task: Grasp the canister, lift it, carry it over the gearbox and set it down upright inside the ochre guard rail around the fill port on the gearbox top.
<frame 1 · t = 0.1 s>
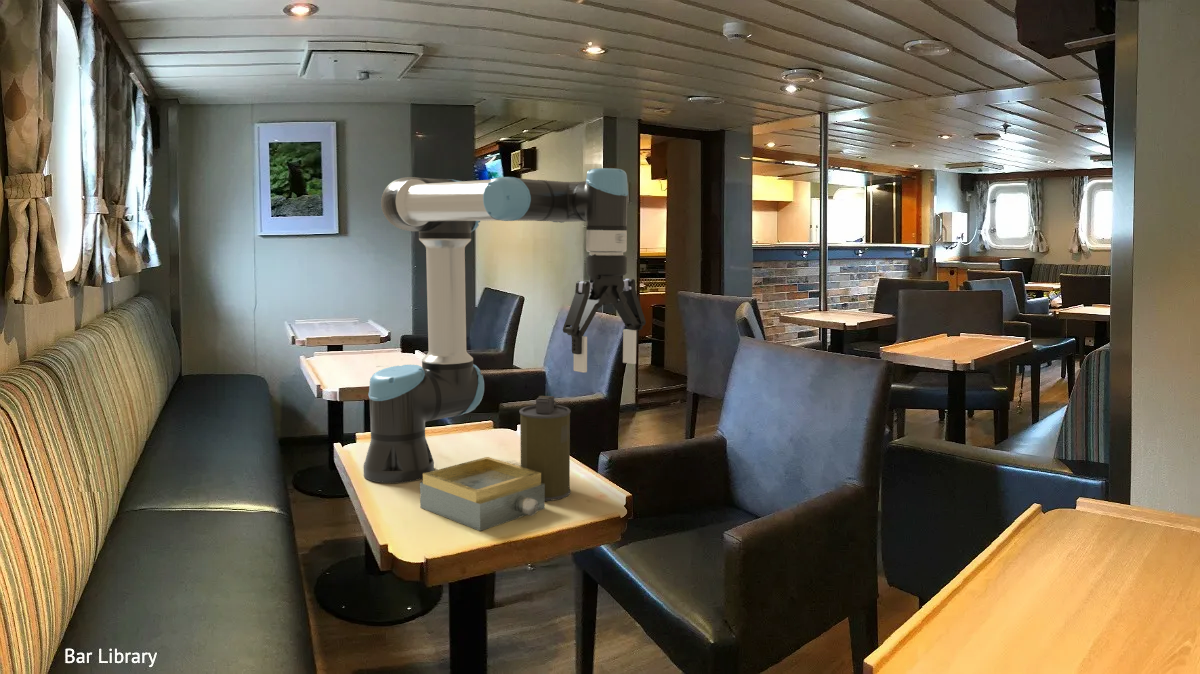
hand: (605, 367, 149), 28 cm above the table, fingers open, 13 cm apart
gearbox: (482, 508, 154), on the table
canister: (545, 493, 163), on the table
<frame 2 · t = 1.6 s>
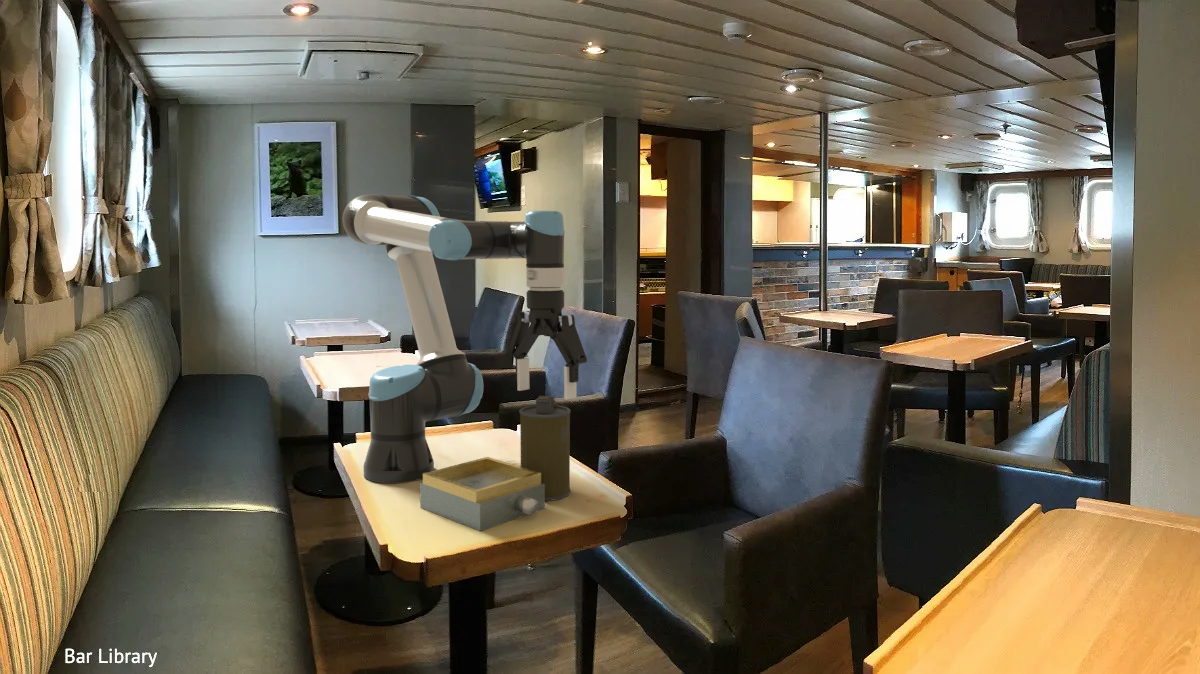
hand: (546, 394, 161), 21 cm above the table, fingers open, 13 cm apart
nothing on the table moved.
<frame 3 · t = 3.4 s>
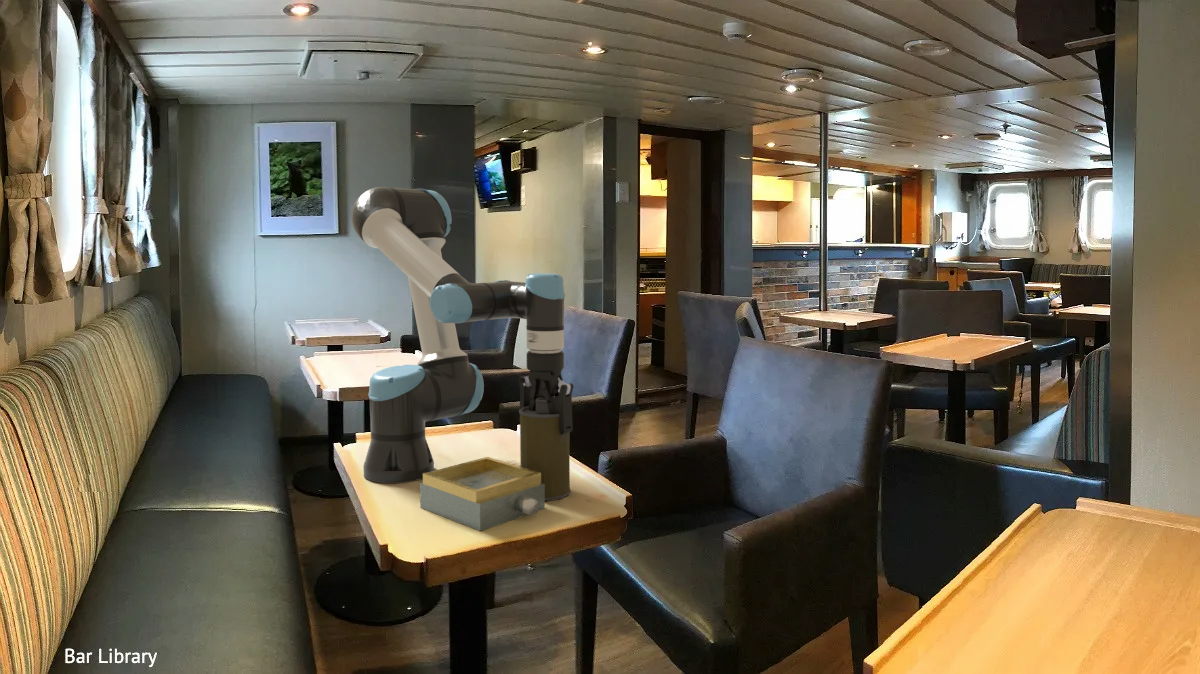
hand: (545, 462, 163), 6 cm above the table, fingers open, 6 cm apart
canister: (545, 493, 163), on the table, touching hand
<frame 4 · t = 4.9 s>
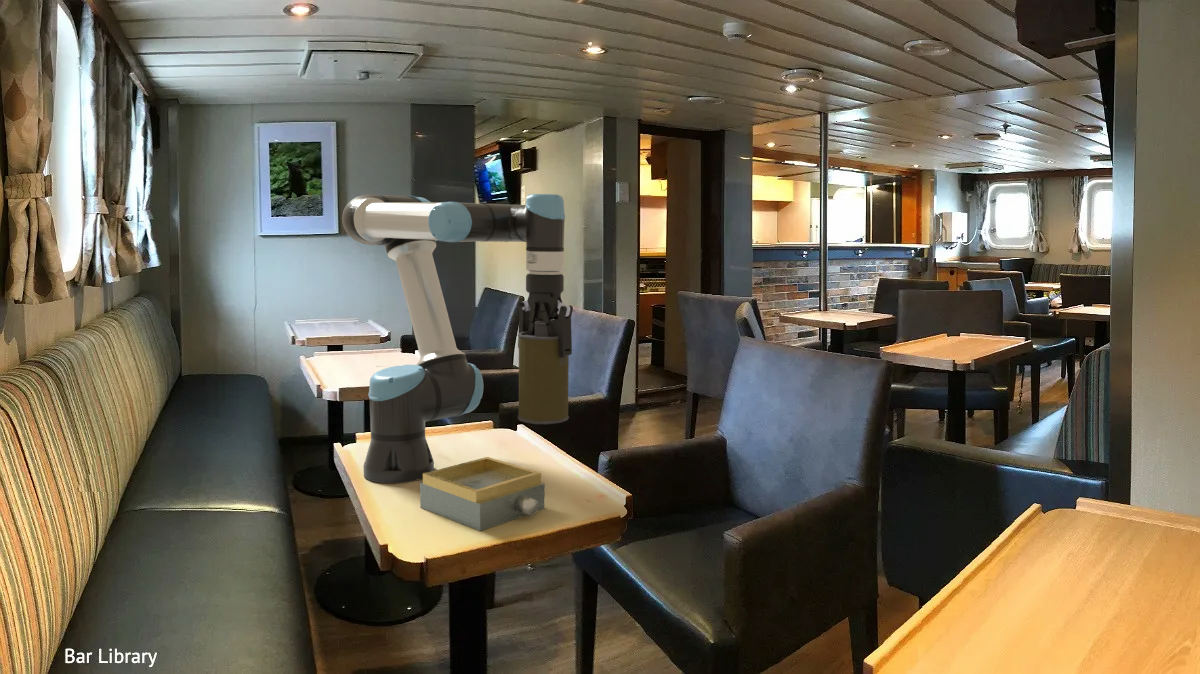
hand: (544, 387, 161), 22 cm above the table, fingers open, 6 cm apart
canister: (543, 418, 162), point 15 cm above the table, touching hand
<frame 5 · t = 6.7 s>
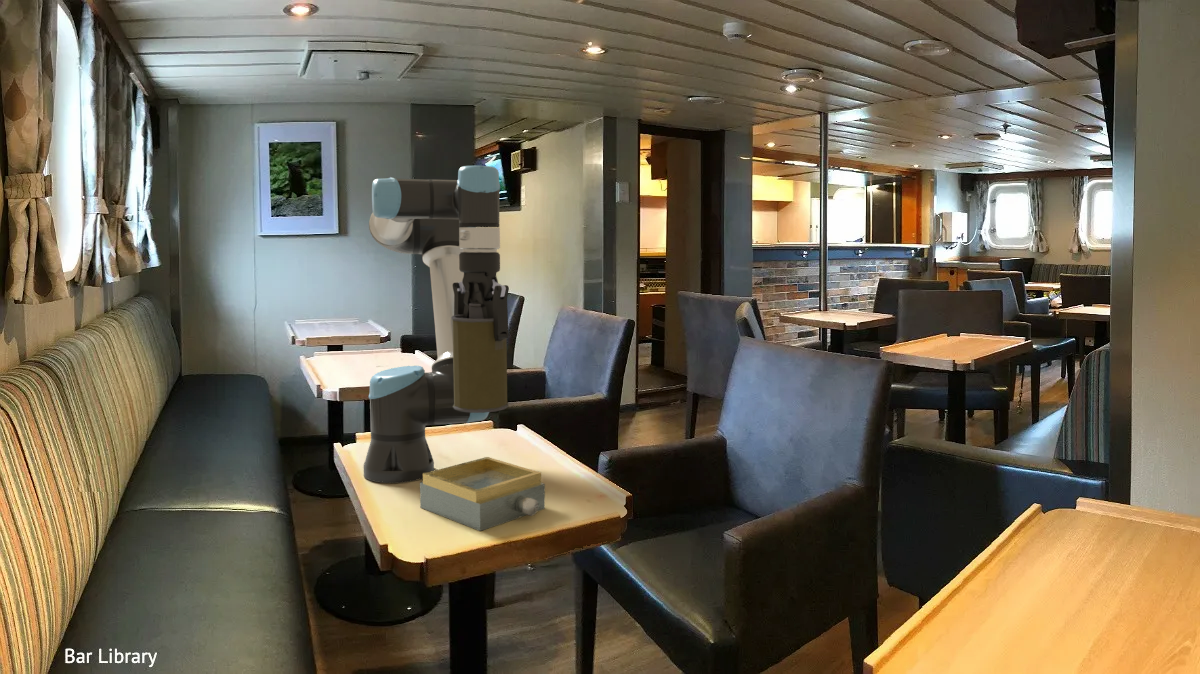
hand: (481, 373, 150), 26 cm above the table, fingers open, 6 cm apart
canister: (481, 407, 151), point 20 cm above the table, touching hand
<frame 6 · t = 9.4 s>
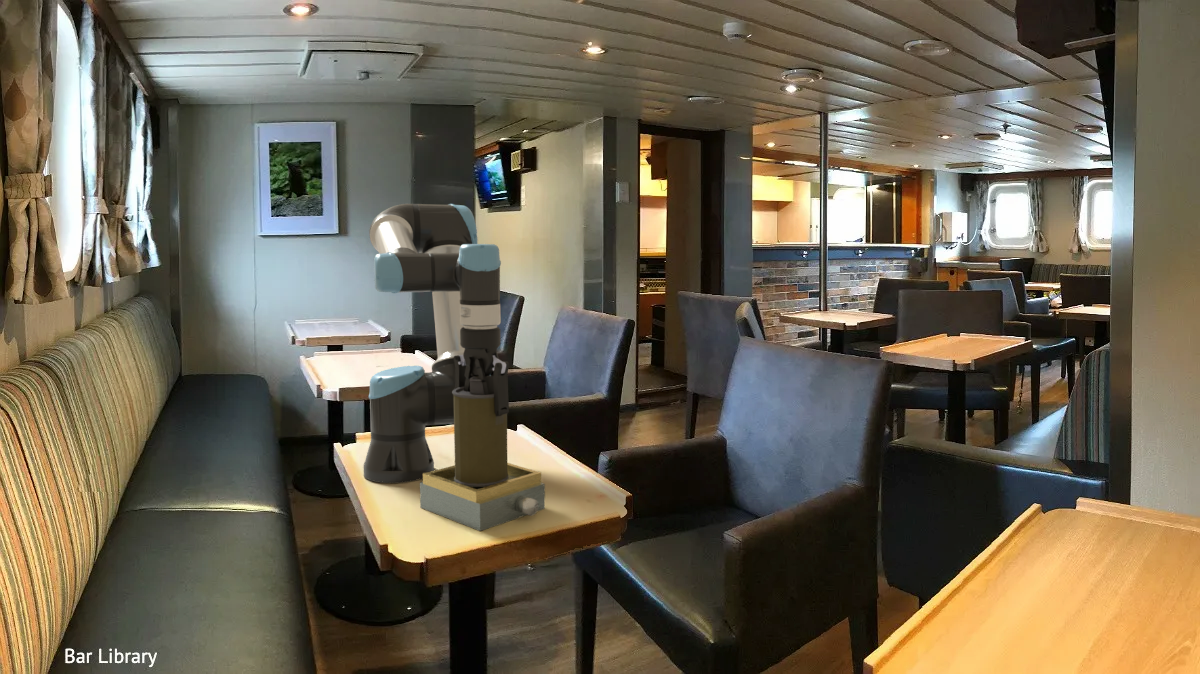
hand: (481, 446, 152), 12 cm above the table, fingers open, 6 cm apart
canister: (481, 479, 153), point 6 cm above the table, touching hand
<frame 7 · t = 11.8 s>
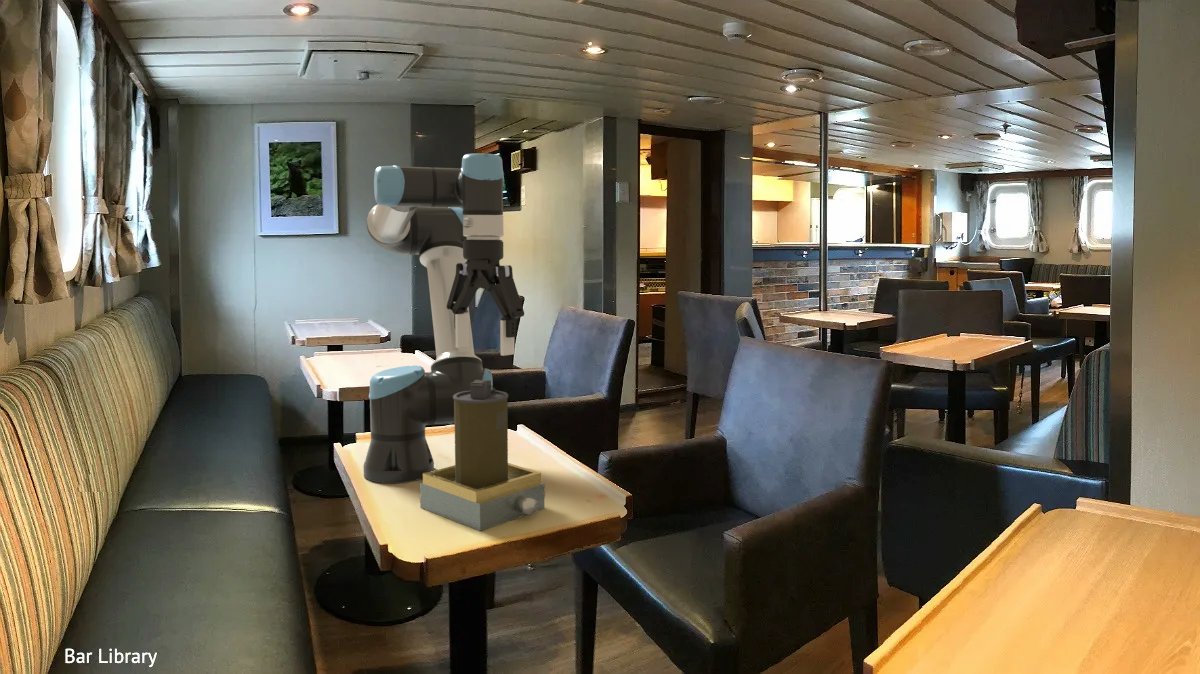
hand: (484, 350, 151), 31 cm above the table, fingers open, 13 cm apart
canister: (482, 484, 153), point 5 cm above the table, touching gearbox
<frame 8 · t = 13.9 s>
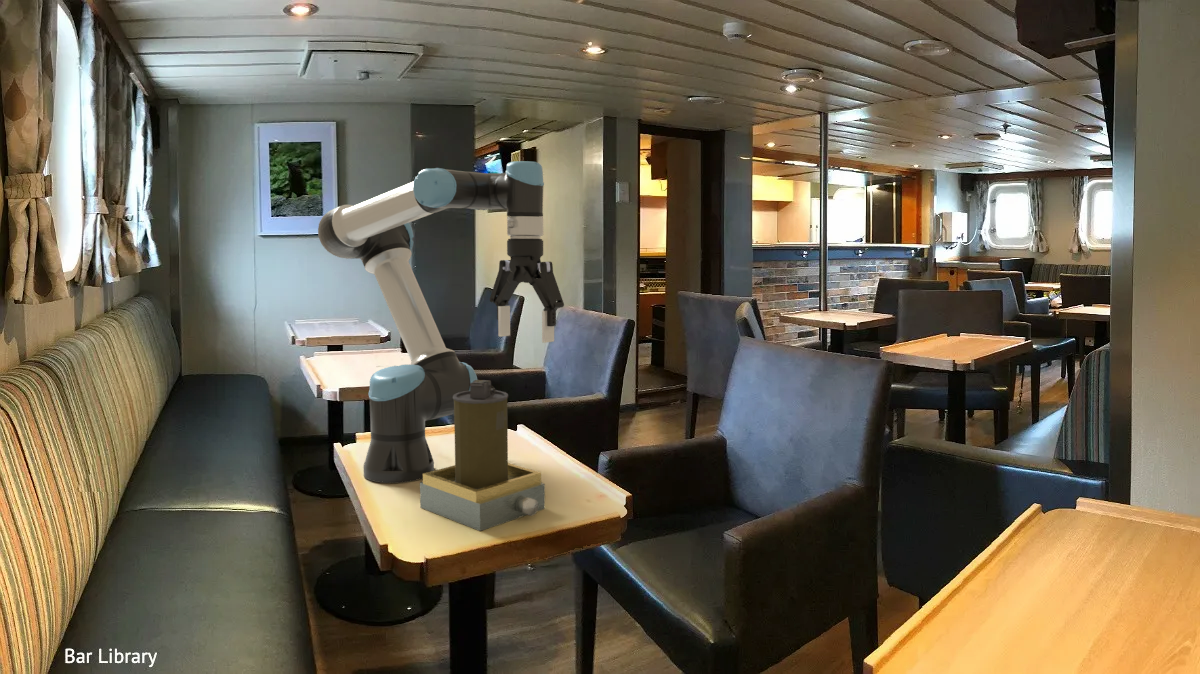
hand: (525, 339, 168), 31 cm above the table, fingers open, 13 cm apart
nothing on the table moved.
at the end: canister inside the target area on the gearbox (0.0 cm from its centre), point 4.8 cm above the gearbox's base; canister tilted 0°; canister touching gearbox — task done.
